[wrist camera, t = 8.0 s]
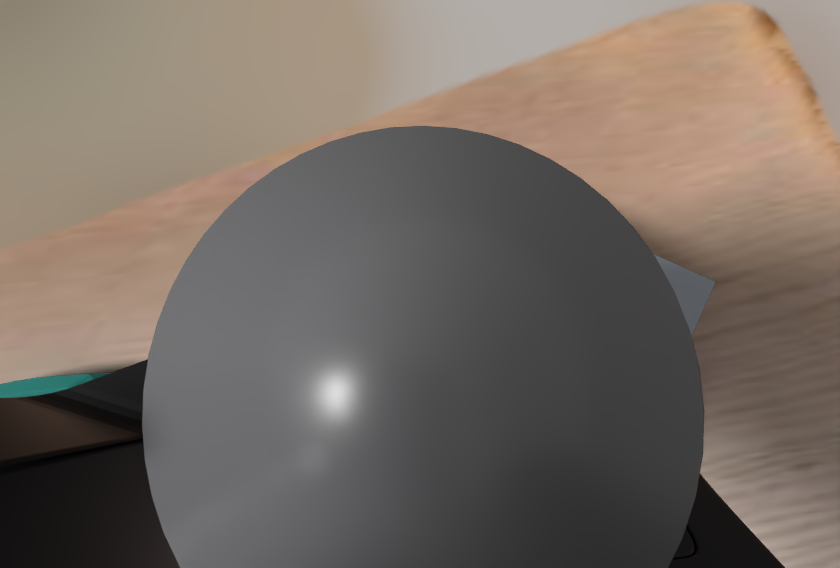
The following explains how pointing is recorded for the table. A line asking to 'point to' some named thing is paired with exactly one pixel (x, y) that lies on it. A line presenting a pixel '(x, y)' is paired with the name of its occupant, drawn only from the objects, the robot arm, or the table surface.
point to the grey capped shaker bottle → (422, 370)
